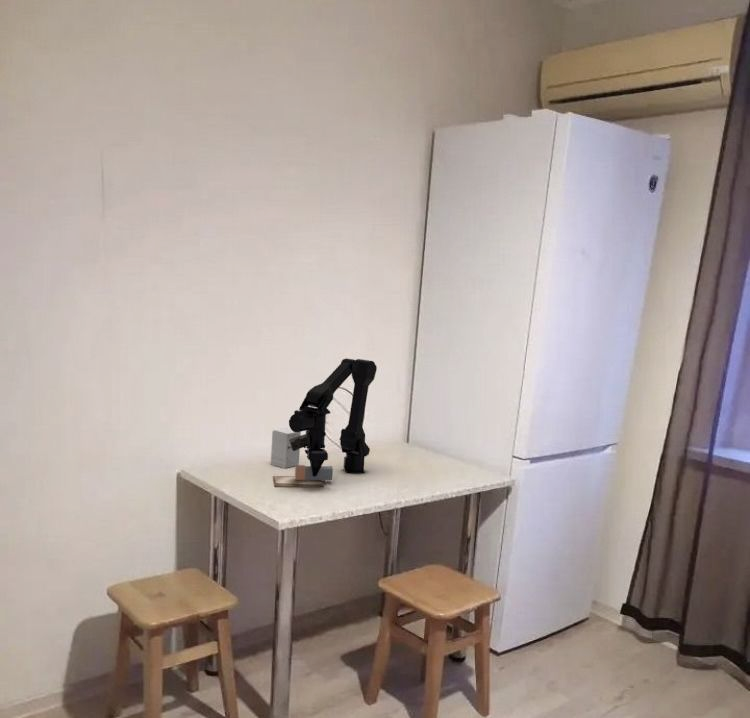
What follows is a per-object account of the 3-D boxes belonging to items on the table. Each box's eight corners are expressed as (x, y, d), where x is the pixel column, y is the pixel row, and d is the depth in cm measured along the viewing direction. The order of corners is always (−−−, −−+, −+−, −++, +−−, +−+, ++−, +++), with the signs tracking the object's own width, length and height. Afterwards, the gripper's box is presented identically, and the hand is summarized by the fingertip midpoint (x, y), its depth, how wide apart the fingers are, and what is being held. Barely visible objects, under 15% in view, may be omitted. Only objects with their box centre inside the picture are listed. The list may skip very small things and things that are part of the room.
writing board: (320, 477, 241) (320, 475, 241) (324, 487, 230) (324, 485, 230) (272, 477, 238) (272, 475, 238) (274, 487, 227) (274, 484, 227)
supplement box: (285, 468, 249) (286, 433, 248) (270, 464, 254) (271, 429, 252) (299, 465, 255) (301, 430, 254) (284, 461, 259) (286, 427, 258)
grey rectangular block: (330, 476, 238) (331, 465, 237) (332, 480, 234) (332, 468, 234) (294, 476, 235) (295, 465, 235) (295, 479, 232) (296, 468, 231)
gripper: (289, 421, 240) (287, 466, 242) (293, 434, 222) (291, 482, 224) (322, 422, 243) (320, 467, 244) (329, 434, 224) (326, 482, 226)
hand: (313, 474), depth 235 cm, fingers closed on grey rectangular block, 4 cm apart
